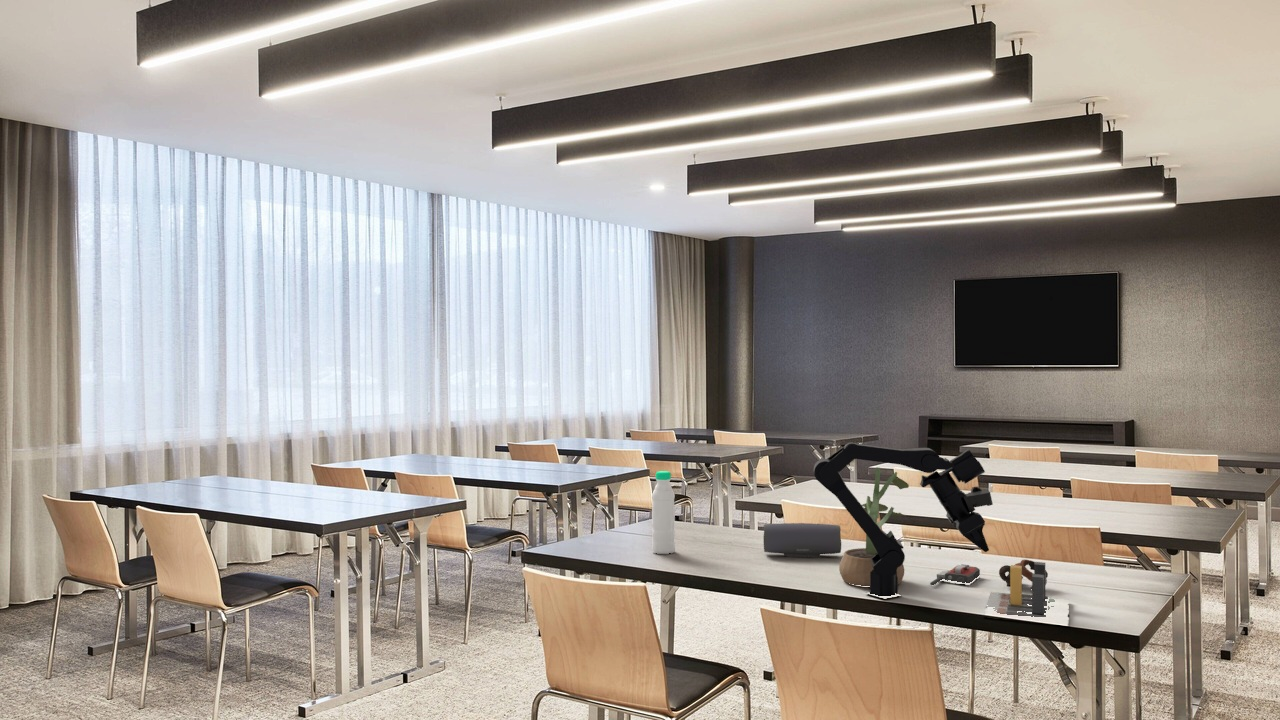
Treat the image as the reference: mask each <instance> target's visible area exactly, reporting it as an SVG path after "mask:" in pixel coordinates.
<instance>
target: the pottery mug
mask: <svg viewBox="0 0 1280 720" xmlns="http://www.w3.org/2000/svg"><path fill="white" fill-rule="evenodd" d="M1035 562H1036V561H1033V560H1030V559H1021V561H1020V562H1018V563H1015V564H1014V565H1017V566H1022V580H1023V579H1024V577H1025V578H1026V579H1028V581H1031V582H1032V575H1033V574H1034V572H1032V571H1034V563H1035ZM1026 566H1029V569H1030V570H1029V569H1028V568H1027V567H1026ZM1010 567H1011V565H1005V564H1004V565H1002V566H1001V567H1000V568H999V570H998V575H999V577H1000V579H1001V580H1002V581H1004V582H1005V583H1006V584H1007V585H1008V586H1009V585H1010ZM1031 570H1032V571H1031ZM1006 573H1008V574H1007V575H1006ZM1048 575H1049V574H1048V571H1047V570H1046V569H1045V586H1047V582H1048V580H1047V578H1048ZM1030 588H1031V589H1032V585H1031V586H1030Z"/></svg>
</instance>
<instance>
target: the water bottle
mask: <svg viewBox="0 0 1280 720" xmlns="http://www.w3.org/2000/svg"><path fill="white" fill-rule="evenodd" d="M671 479H672V474H671V472H670V471H668V470H667V471H666V470H665V471H664V470H662V471H661V470H660V471H656V473H655V481H656V485H655V486H654V490H653V491H652V493H651V498H652V504H651V507H652V508H651V509H652V510H651V520H652V521H651V522H652V531H651V534H652V535H651V536H652V537H651V538H652V544H651V545H652V546H651V551H652V552H653V553H654V554H656V553H657V555H670V554H669V553H671V554H673V553H675V551H676V545H675V544H676V542H675V536H676V531H675V521H676V517H675V516H676V509H675V497H676V496H675V492H674V490H673V487H672V485H671V484H670V481H671Z"/></svg>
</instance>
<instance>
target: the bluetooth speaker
mask: <svg viewBox="0 0 1280 720" xmlns="http://www.w3.org/2000/svg"><path fill="white" fill-rule="evenodd" d="M763 552H764V553H769V554H771V553H772V554H781V555H782V554H783V556H784V557H786V556H789V557H788V558H820V556H821V555H832V554H833V555H834V554H840V553H841V552H842V538H841V525H837V524H831V523H830V524H827V523H826V524H825V523H812V522H811V523H807V522H805V523H804V522H798V523H797V522H795V523H794V522H793V523H792V522H791V523H789V522H788V523H787V522H785V523H767V524H763Z"/></svg>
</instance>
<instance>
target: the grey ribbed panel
mask: <svg viewBox="0 0 1280 720" xmlns="http://www.w3.org/2000/svg"><path fill="white" fill-rule="evenodd" d="M1034 562H1035V563H1034V570H1033V573H1034V574H1033V575H1032V581H1031V586H1032V591H1031V594H1027V593H1022V605H1013V604H1010V593H1005V592H996V591H990V592H989V596H988V599H987V602H986V605H988V606H985V608H986V607H995V608H993V609H995V610H994V611H996V610H997V611H996V612H997V613H1000V614H1007V615H1018V616H1031V617H1033V616H1034V617H1046V615H1044V613H1046V611H1045V610H1047V608H1044V606H1047V601H1045V599H1048V597H1049V596H1047V593H1046V585H1045V570H1046V562H1043V561H1034ZM1031 598H1032V599H1031ZM1050 602H1055V600H1054V599H1049V601H1048V603H1050ZM1027 604H1029V605H1032V606H1028V605H1027ZM1051 607H1054V606H1051ZM1049 609H1050V607H1049V606H1048V610H1049ZM1017 611H1022V612H1018V613H1017ZM1024 611H1025V612H1024ZM1026 612H1032V614H1027V613H1026Z"/></svg>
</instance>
